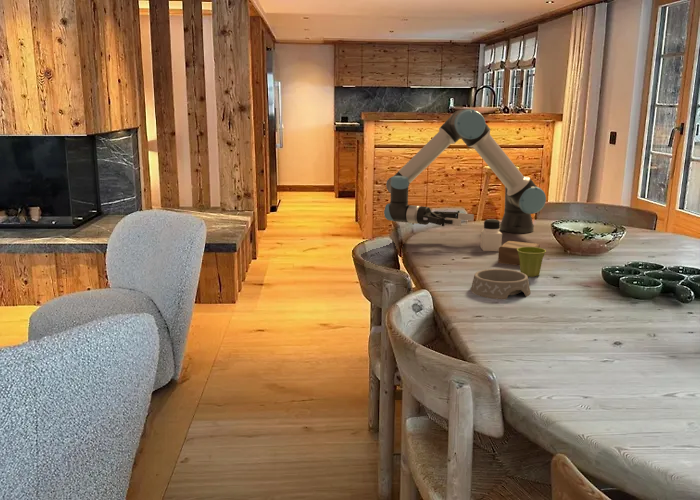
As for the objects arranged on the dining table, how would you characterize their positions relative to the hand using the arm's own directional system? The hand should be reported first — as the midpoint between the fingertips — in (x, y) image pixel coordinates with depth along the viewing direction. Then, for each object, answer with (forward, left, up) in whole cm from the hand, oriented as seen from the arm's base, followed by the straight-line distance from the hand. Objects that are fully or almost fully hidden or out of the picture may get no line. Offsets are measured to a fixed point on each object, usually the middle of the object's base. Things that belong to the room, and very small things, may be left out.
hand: (467, 220), depth 250 cm
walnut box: (-1, +29, -11) cm, 31 cm away
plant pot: (+9, +45, -11) cm, 47 cm away
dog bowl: (+30, +54, -12) cm, 62 cm away
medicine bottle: (-5, +9, -11) cm, 15 cm away
